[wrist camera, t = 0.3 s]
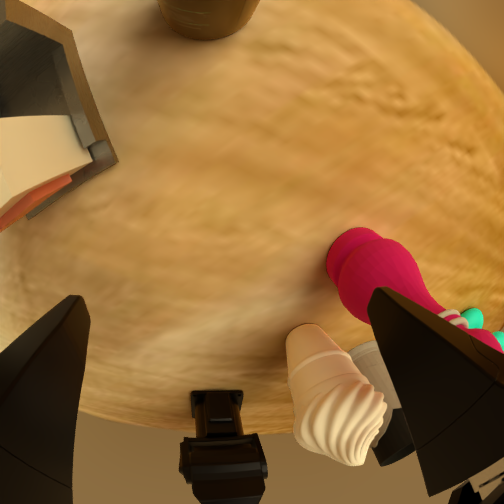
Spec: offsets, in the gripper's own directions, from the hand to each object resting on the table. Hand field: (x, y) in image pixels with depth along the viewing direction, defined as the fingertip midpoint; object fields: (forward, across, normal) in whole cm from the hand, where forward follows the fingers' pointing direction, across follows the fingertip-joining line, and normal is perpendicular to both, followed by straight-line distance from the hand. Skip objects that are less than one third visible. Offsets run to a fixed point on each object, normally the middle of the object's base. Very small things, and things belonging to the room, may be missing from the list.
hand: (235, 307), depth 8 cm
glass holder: (+13, -22, +24) cm, 35 cm away
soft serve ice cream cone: (+13, -10, +17) cm, 23 cm away
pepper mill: (+14, -13, +7) cm, 21 cm away
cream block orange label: (+13, +13, -2) cm, 19 cm away
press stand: (+15, +15, -5) cm, 21 cm away
